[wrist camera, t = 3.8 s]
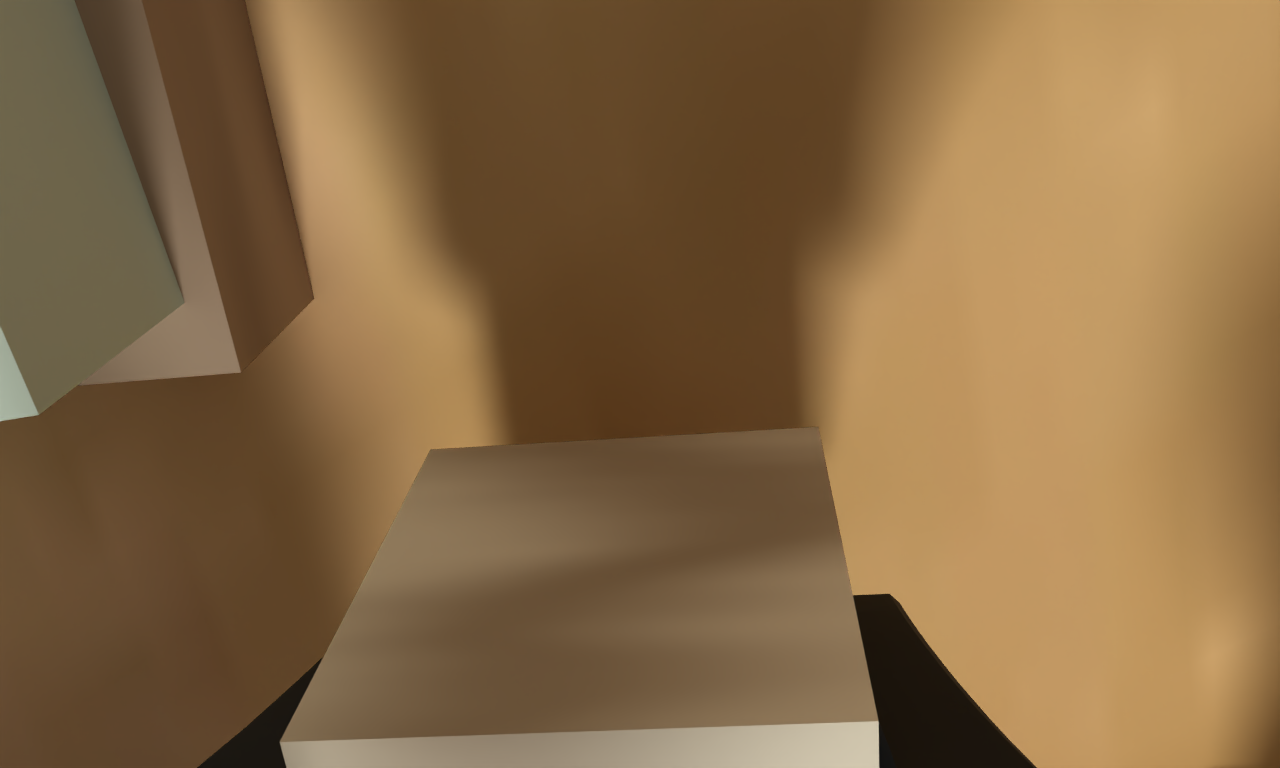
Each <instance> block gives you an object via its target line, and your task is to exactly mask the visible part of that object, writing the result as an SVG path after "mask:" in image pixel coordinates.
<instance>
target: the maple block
mask: <svg viewBox="0 0 1280 768" xmlns="http://www.w3.org/2000/svg"><path fill="white" fill-rule="evenodd" d="M280 746H281V749H282V753H283V757H284V760H285V764H286V768H879V721H878V716H877V711H876V706H875V701H874V697H873V692H872V687H871V682H870V677H869V672H868V667H867V662H866V657H865V653H864V648H863V643H862V638H861V633H860V628H859V623H858V618H857V613H856V609H855V604H854V599H853V594H852V589H851V584H850V579H849V574H848V569H847V565H846V560H845V555H844V550H843V545H842V540H841V535H840V530H839V525H838V521H837V516H836V511H835V506H834V501H833V496H832V491H831V486H830V481H829V477H828V472H827V467H826V462H825V457H824V452H823V447H822V442H821V437H820V433H819V428H818V427H806V428H789V429H772V430H755V431H738V432H721V433H704V434H687V435H670V436H653V437H636V438H618V439H601V440H584V441H567V442H550V443H533V444H516V445H499V446H482V447H465V448H447V449H430V451H429V453H428V455H427V457H426V459H425V461H424V463H423V465H422V467H421V469H420V471H419V473H418V475H417V477H416V478H415V480H414V482H413V484H412V486H411V488H410V490H409V492H408V494H407V496H406V498H405V500H404V502H403V504H402V506H401V508H400V510H399V511H398V513H397V515H396V517H395V519H394V521H393V523H392V525H391V527H390V529H389V531H388V533H387V535H386V537H385V539H384V541H383V543H382V544H381V546H380V548H379V550H378V552H377V554H376V556H375V558H374V560H373V562H372V564H371V566H370V568H369V570H368V572H367V574H366V575H365V577H364V579H363V581H362V583H361V585H360V587H359V589H358V591H357V593H356V595H355V597H354V599H353V601H352V603H351V605H350V607H349V608H348V610H347V612H346V614H345V616H344V618H343V620H342V622H341V624H340V626H339V628H338V630H337V632H336V634H335V636H334V638H333V640H332V641H331V643H330V645H329V647H328V649H327V651H326V653H325V655H324V657H323V659H322V661H321V663H320V665H319V667H318V669H317V671H316V673H315V674H314V676H313V678H312V680H311V682H310V684H309V686H308V688H307V690H306V692H305V694H304V696H303V698H302V700H301V702H300V704H299V705H298V707H297V709H296V711H295V713H294V715H293V717H292V719H291V721H290V723H289V725H288V727H287V729H286V731H285V733H284V735H283V737H282V738H281V740H280Z"/></svg>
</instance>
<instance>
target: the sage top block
mask: <svg viewBox="0 0 1280 768" xmlns="http://www.w3.org/2000/svg"><path fill="white" fill-rule="evenodd" d="M184 303H185V302H184V299H183V297H182V294H181V291H180V288H179V286H178V283H177V280H176V277H175V275H174V272H173V269H172V266H171V264H170V261H169V258H168V255H167V253H166V250H165V247H164V245H163V242H162V239H161V236H160V234H159V231H158V228H157V225H156V223H155V220H154V217H153V214H152V212H151V209H150V206H149V203H148V201H147V198H146V195H145V192H144V190H143V187H142V184H141V181H140V179H139V176H138V173H137V171H136V168H135V165H134V162H133V160H132V157H131V154H130V151H129V149H128V146H127V143H126V140H125V138H124V135H123V132H122V129H121V127H120V124H119V121H118V118H117V116H116V113H115V110H114V107H113V105H112V102H111V99H110V97H109V94H108V91H107V88H106V86H105V83H104V80H103V77H102V75H101V72H100V69H99V66H98V64H97V61H96V58H95V55H94V53H93V50H92V47H91V44H90V42H89V39H88V36H87V33H86V31H85V28H84V25H83V22H82V20H81V17H80V14H79V12H78V9H77V6H76V3H75V1H74V0H0V421H5V420H11V419H17V418H23V417H30V416H36V415H40V414H41V413H42V412H43V411H45V410H46V409H47V408H49V407H50V406H51V405H53V404H54V403H55V402H56V401H58V400H59V399H60V398H62V397H63V396H64V395H66V394H67V393H68V392H69V391H71V390H72V389H73V388H75V387H76V386H77V385H79V384H80V383H81V382H82V381H84V380H85V379H86V378H88V377H89V376H90V375H92V374H93V373H94V372H95V371H97V370H98V369H99V368H101V367H102V366H103V365H105V364H106V363H107V362H108V361H110V360H111V359H112V358H114V357H115V356H116V355H118V354H119V353H120V352H121V351H123V350H124V349H125V348H127V347H128V346H129V345H131V344H132V343H133V342H134V341H136V340H137V339H138V338H140V337H141V336H142V335H144V334H145V333H146V332H147V331H149V330H150V329H151V328H153V327H154V326H155V325H156V324H158V323H159V322H160V321H162V320H163V319H164V318H166V317H167V316H168V315H169V314H171V313H172V312H173V311H175V310H176V309H177V308H179V307H180V306H181V305H182V304H184Z"/></svg>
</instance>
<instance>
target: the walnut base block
mask: <svg viewBox="0 0 1280 768" xmlns="http://www.w3.org/2000/svg"><path fill="white" fill-rule="evenodd" d="M74 1H75V3H76V6H77V9H78V12H79V14H80V17H81V20H82V22H83V25H84V28H85V31H86V33H87V36H88V39H89V42H90V44H91V47H92V50H93V53H94V55H95V58H96V61H97V64H98V66H99V69H100V72H101V75H102V77H103V80H104V83H105V86H106V88H107V91H108V94H109V97H110V99H111V102H112V105H113V107H114V110H115V113H116V116H117V118H118V121H119V124H120V127H121V129H122V132H123V135H124V138H125V140H126V143H127V146H128V149H129V151H130V154H131V157H132V160H133V162H134V165H135V168H136V171H137V173H138V176H139V179H140V181H141V184H142V187H143V190H144V192H145V195H146V198H147V201H148V203H149V206H150V209H151V212H152V214H153V217H154V220H155V223H156V225H157V228H158V231H159V234H160V236H161V239H162V242H163V245H164V247H165V250H166V253H167V255H168V258H169V261H170V264H171V266H172V269H173V272H174V275H175V277H176V280H177V283H178V286H179V288H180V291H181V294H182V297H183V299H184V302H185V303H184V304H182V305H181V306H180V307H179V308H177V309H176V310H175V311H173V312H172V313H171V314H169V315H168V316H167V317H166V318H164V319H163V320H162V321H160V322H159V323H158V324H156V325H155V326H154V327H153V328H151V329H150V330H149V331H147V332H146V333H145V334H144V335H142V336H141V337H140V338H138V339H137V340H136V341H134V342H133V343H132V344H131V345H129V346H128V347H127V348H125V349H124V350H123V351H121V352H120V353H119V354H118V355H116V356H115V357H114V358H112V359H111V360H110V361H108V362H107V363H106V364H105V365H103V366H102V367H101V368H99V369H98V370H97V371H95V372H94V373H93V374H92V375H90V376H89V377H88V378H86V379H85V380H84V381H82V382H81V383H80V384H79V385H77V386H80V385H92V384H104V383H117V382H129V381H142V380H154V379H167V378H179V377H191V376H204V375H216V374H229V373H241V372H242V371H243V370H244V369H245V368H246V367H247V366H248V365H249V364H250V363H251V362H252V361H253V360H254V359H255V358H256V357H257V356H258V355H259V354H260V353H261V352H262V351H263V350H264V349H265V348H266V347H267V346H268V345H269V344H270V343H271V342H272V341H273V340H274V339H275V338H276V337H277V336H278V335H279V334H280V333H281V332H282V331H283V330H284V329H285V328H286V327H287V326H288V325H289V323H290V322H291V321H292V320H293V319H294V318H295V317H296V316H297V315H298V314H299V313H300V312H301V311H302V310H303V309H304V308H305V307H306V306H307V305H308V304H309V303H310V302H311V301H312V300H313V299H314V296H313V292H312V288H311V283H310V279H309V275H308V271H307V266H306V262H305V258H304V253H303V249H302V245H301V240H300V236H299V232H298V228H297V223H296V219H295V215H294V210H293V206H292V202H291V197H290V193H289V189H288V185H287V180H286V176H285V172H284V167H283V163H282V159H281V154H280V150H279V146H278V142H277V137H276V133H275V129H274V124H273V120H272V116H271V111H270V107H269V103H268V99H267V94H266V90H265V86H264V81H263V77H262V73H261V68H260V64H259V60H258V56H257V51H256V47H255V43H254V38H253V34H252V30H251V25H250V21H249V17H248V13H247V8H246V4H245V0H74Z"/></svg>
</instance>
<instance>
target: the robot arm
mask: <svg viewBox="0 0 1280 768" xmlns="http://www.w3.org/2000/svg"><path fill="white" fill-rule="evenodd" d="M853 599H854V604H855V609H856V613H857V618H858V623H859V628H860V633H861V638H862V643H863V648H864V653H865V657H866V662H867V667H868V672H869V677H870V682H871V687H872V692H873V697H874V701H875V706H876V711H877V716H878V721H879V768H1036V767H1035V766H1034V765H1033V764H1032V762H1031V761H1030V760H1029V759H1028V758H1027V757H1026V756H1025V755H1024V754H1023V753H1022V752H1021V751H1020V750H1019V749H1018V748H1017V747H1016V746H1015V745H1014V744H1013V743H1012V742H1011V741H1010V740H1009V739H1008V738H1007V737H1006V736H1005V735H1004V734H1003V733H1002V732H1001V731H1000V729H999V728H998V727H997V726H996V725H995V724H994V723H993V722H992V721H991V720H990V719H989V717H988V716H987V715H986V714H985V713H984V712H983V711H982V709H981V708H980V707H979V706H978V705H977V704H976V703H975V701H974V700H973V699H972V698H971V697H970V696H969V694H968V693H967V692H966V691H965V690H964V689H963V688H962V686H961V685H960V684H959V683H958V682H957V680H956V679H955V678H954V677H953V676H952V674H951V673H950V672H949V671H948V669H947V668H946V667H945V666H944V664H943V663H942V662H941V660H940V659H939V658H938V657H937V655H936V654H935V653H934V651H933V650H932V649H931V648H930V646H929V645H928V644H927V642H926V641H925V639H924V638H923V637H922V635H921V634H920V633H919V631H918V630H917V628H916V627H915V626H914V624H913V623H912V621H911V620H910V618H909V617H908V615H907V614H906V612H905V611H904V609H903V608H902V606H901V604H900V603H899V602H898V601H897V600H896V599H895V598H893V597H892V596H891V595H890V594H875V595H853ZM322 659H323V658H322ZM322 659H320V660H319V661H318V662H317V663H316V664H315V665H314V666H313V667H312V668H311V669H310V670H309V671H308V672H306V673H305V674H304V675H303V676H302V677H301V678H300V679H299V680H298V681H297V682H296V683H295V684H293V685H292V686H291V687H290V688H289V689H288V690H287V691H286V692H285V693H283V694H282V695H281V696H280V697H279V698H278V699H277V700H276V701H275V702H273V703H272V704H271V705H270V706H269V707H268V708H267V709H266V710H265V711H264V712H262V713H261V714H260V715H259V716H258V717H257V718H256V719H255V720H254V721H252V722H251V723H250V724H249V725H248V726H247V727H246V728H245V729H243V730H242V731H241V732H240V733H238V734H237V735H236V736H235V737H234V738H232V739H231V740H230V741H229V742H228V743H226V744H225V745H224V746H223V747H222V748H220V749H219V750H218V751H217V752H216V753H214V754H213V755H212V756H211V757H209V758H208V759H207V760H206V761H205V762H203V763H202V764H201V765H200V766H199V767H197V768H286V764H285V760H284V757H283V753H282V749H281V746H280V740H281V738H282V737H283V735H284V733H285V731H286V729H287V727H288V725H289V723H290V721H291V719H292V717H293V715H294V713H295V711H296V709H297V707H298V705H299V704H300V702H301V700H302V698H303V696H304V694H305V692H306V690H307V688H308V686H309V684H310V682H311V680H312V678H313V676H314V674H315V673H316V671H317V669H318V667H319V665H320V663H321V661H322Z"/></svg>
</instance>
